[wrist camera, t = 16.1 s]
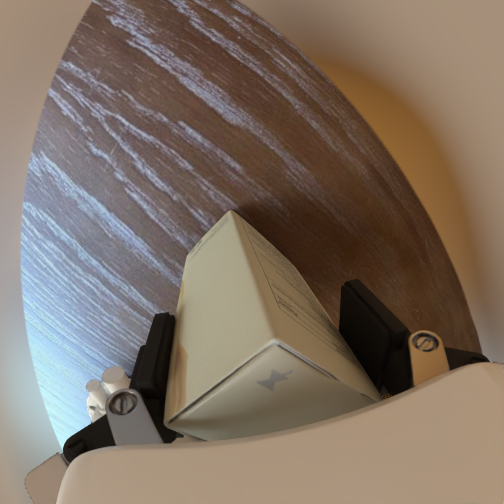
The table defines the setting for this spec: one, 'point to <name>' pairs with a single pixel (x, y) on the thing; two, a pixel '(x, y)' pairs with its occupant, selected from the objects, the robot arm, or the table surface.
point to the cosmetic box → (254, 344)
